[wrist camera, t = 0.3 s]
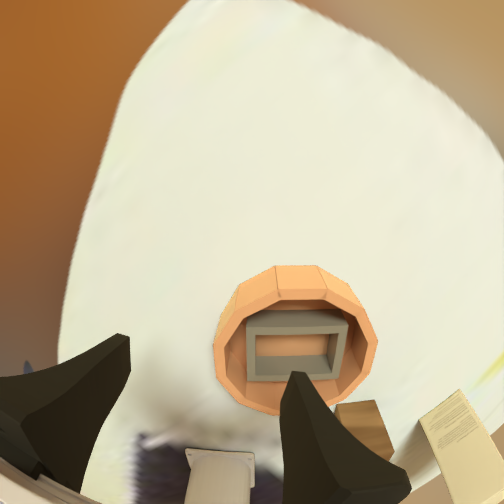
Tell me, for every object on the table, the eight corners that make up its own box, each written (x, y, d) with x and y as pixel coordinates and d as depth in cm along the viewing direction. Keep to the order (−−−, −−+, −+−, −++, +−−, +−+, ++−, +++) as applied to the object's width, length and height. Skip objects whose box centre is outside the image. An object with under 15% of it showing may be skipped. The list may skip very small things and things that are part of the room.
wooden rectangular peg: (369, 413, 25) (386, 464, 19) (333, 417, 25) (345, 471, 19) (374, 399, 25) (394, 451, 18) (336, 404, 25) (350, 459, 18)
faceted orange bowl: (348, 379, 24) (358, 409, 20) (225, 381, 24) (220, 414, 20) (368, 265, 20) (388, 286, 17) (217, 265, 21) (208, 288, 17)
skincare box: (470, 411, 26) (516, 489, 11) (432, 439, 28) (468, 523, 13) (459, 386, 24) (518, 480, 10) (414, 420, 26) (457, 522, 11)
